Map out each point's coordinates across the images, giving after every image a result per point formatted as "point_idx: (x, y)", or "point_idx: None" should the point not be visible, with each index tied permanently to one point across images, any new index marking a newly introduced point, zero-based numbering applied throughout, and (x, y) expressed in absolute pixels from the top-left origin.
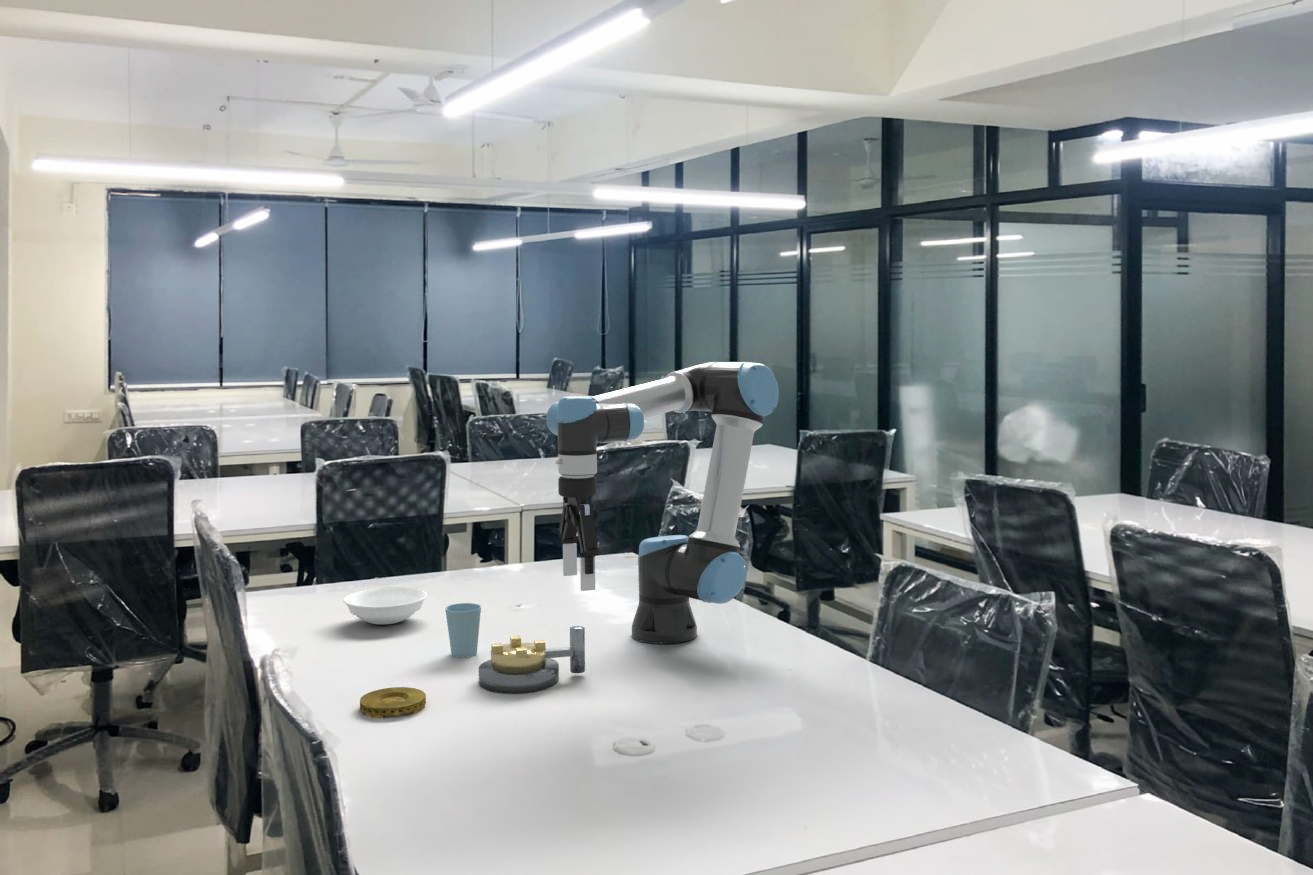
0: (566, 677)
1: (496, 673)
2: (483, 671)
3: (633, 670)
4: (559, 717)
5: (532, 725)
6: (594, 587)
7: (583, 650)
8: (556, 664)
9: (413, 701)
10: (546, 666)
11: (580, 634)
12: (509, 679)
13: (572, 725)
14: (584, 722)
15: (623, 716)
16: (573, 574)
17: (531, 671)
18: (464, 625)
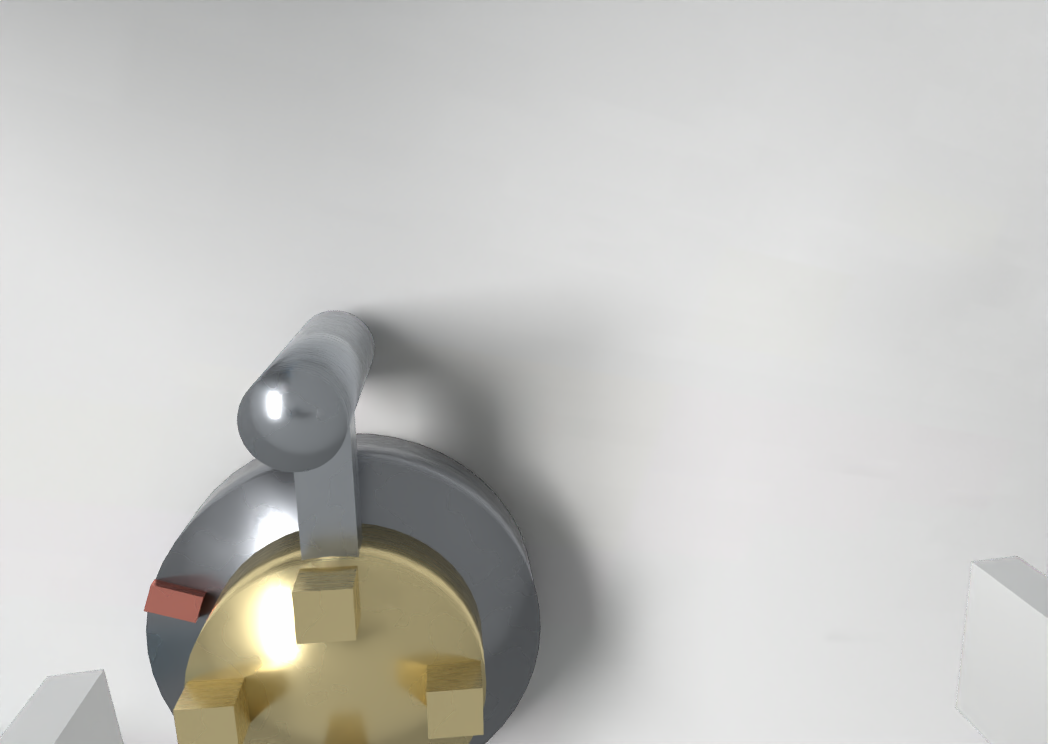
0: None
1: None
2: None
3: (307, 28)
4: (844, 490)
5: (884, 587)
6: (1038, 580)
7: (349, 348)
8: (358, 470)
9: None
10: (381, 520)
11: (347, 396)
12: (528, 682)
13: (941, 456)
14: (931, 409)
15: (933, 247)
16: (113, 722)
17: (473, 598)
18: None
